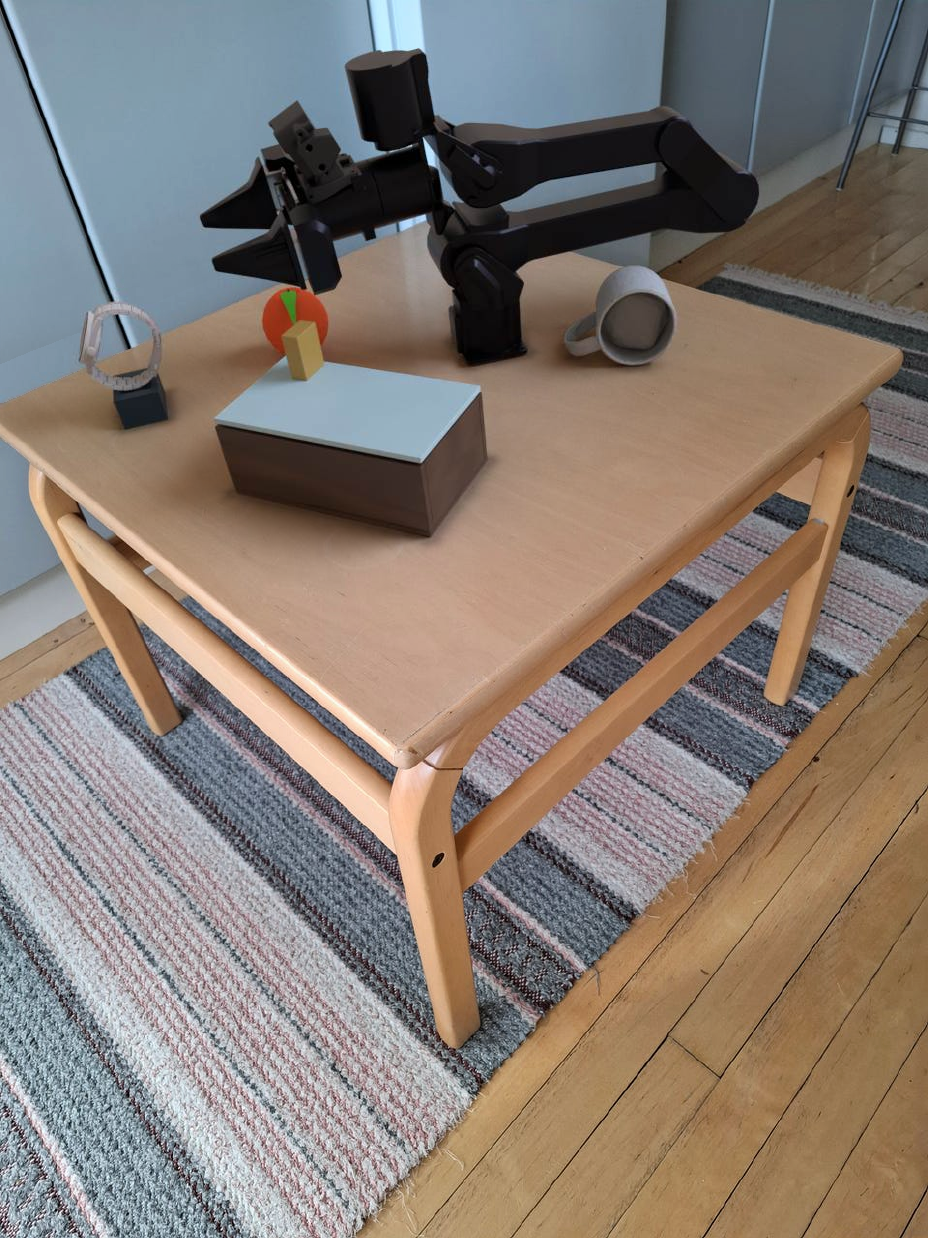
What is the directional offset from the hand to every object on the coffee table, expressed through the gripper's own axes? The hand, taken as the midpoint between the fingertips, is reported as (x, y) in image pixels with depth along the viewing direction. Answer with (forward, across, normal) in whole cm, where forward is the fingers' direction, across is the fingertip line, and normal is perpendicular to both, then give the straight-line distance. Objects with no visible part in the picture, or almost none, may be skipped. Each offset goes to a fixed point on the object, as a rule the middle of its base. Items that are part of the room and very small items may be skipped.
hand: (206, 242), depth 80 cm
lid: (-7, +18, +8) cm, 21 cm away
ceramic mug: (-36, +8, +18) cm, 41 cm away
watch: (+12, -2, +15) cm, 20 cm away
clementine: (-5, -6, +17) cm, 19 cm away
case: (-6, +19, +15) cm, 25 cm away
